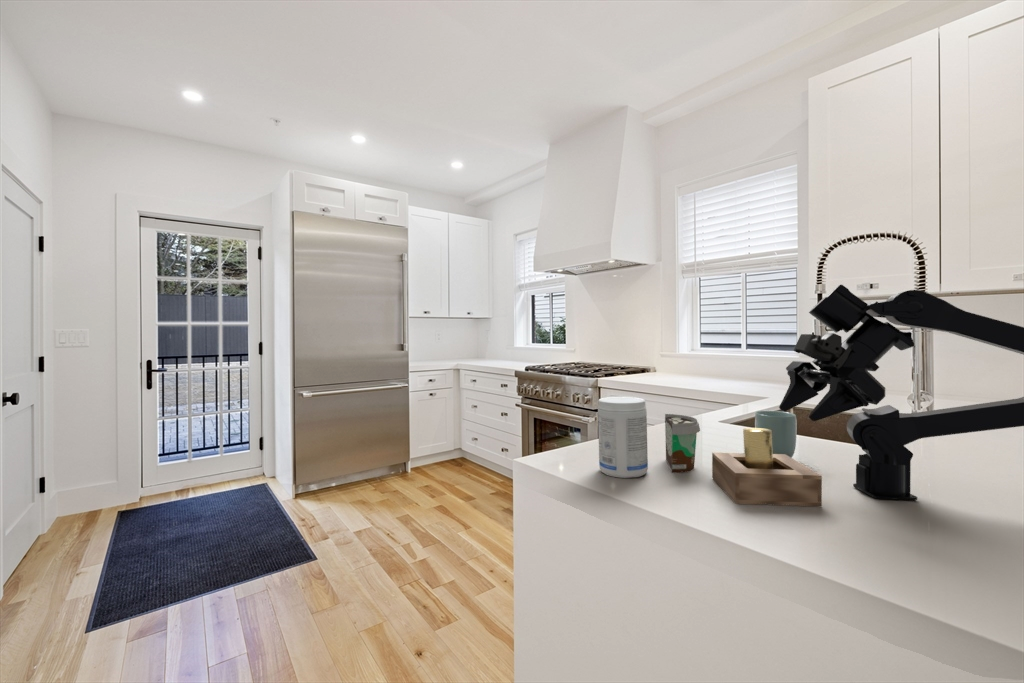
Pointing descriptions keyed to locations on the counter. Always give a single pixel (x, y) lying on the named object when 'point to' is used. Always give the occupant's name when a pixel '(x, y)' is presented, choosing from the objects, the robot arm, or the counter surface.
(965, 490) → the counter surface
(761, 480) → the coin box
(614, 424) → the supplement tub
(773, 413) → the cup
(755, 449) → the brass cylinder
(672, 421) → the food container
